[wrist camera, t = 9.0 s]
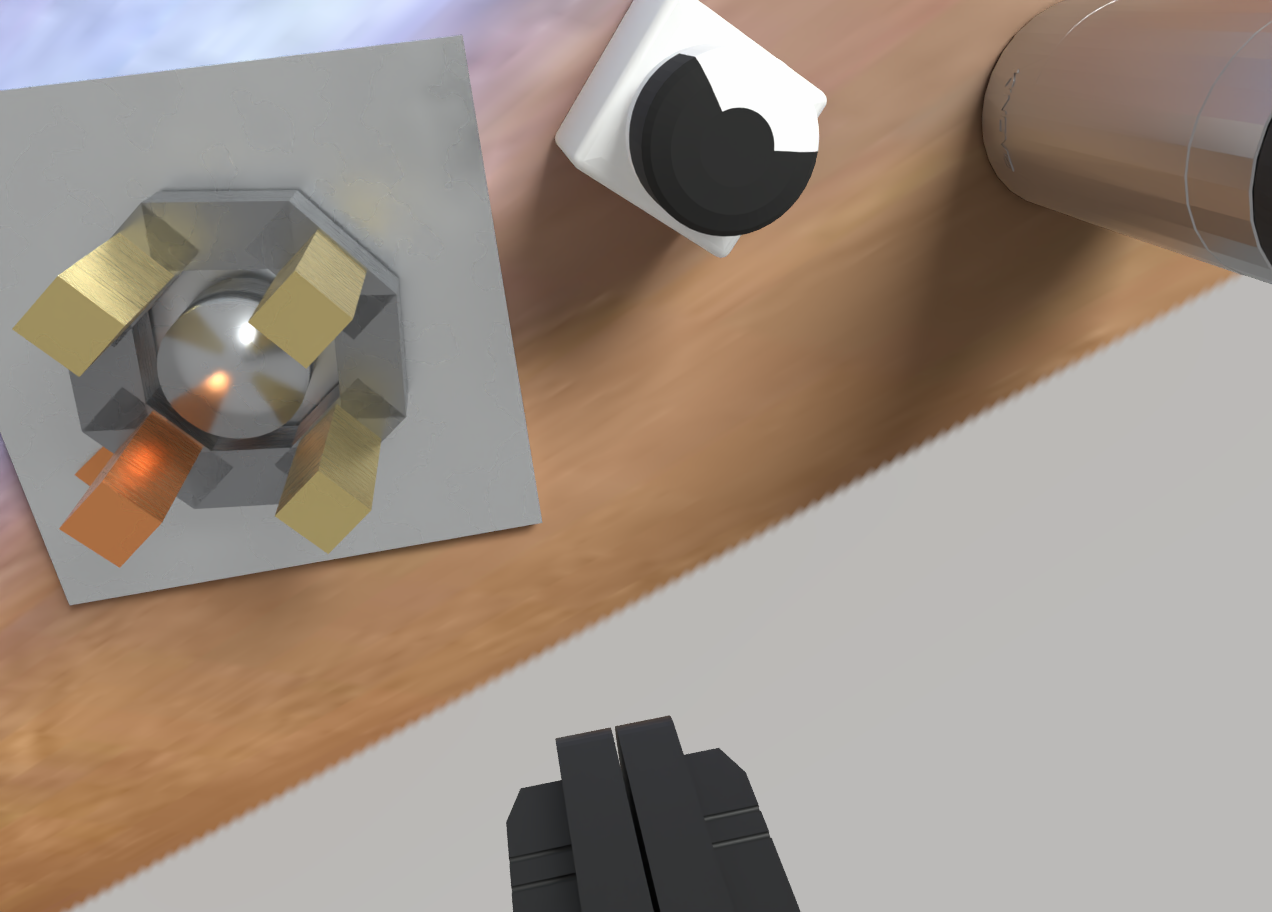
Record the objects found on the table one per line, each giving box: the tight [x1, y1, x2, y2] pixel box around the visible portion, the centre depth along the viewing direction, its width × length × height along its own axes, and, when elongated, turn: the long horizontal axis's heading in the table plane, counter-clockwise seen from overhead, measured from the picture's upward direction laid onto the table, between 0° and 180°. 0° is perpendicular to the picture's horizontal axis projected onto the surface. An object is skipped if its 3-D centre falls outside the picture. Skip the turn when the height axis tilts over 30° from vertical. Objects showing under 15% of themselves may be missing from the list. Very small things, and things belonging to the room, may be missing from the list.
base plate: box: [0, 35, 542, 605], centre depth 42 cm, size 22×22×5 cm
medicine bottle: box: [555, 0, 827, 258], centre depth 38 cm, size 7×7×12 cm
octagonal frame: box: [12, 190, 408, 568], centre depth 39 cm, size 13×13×9 cm
